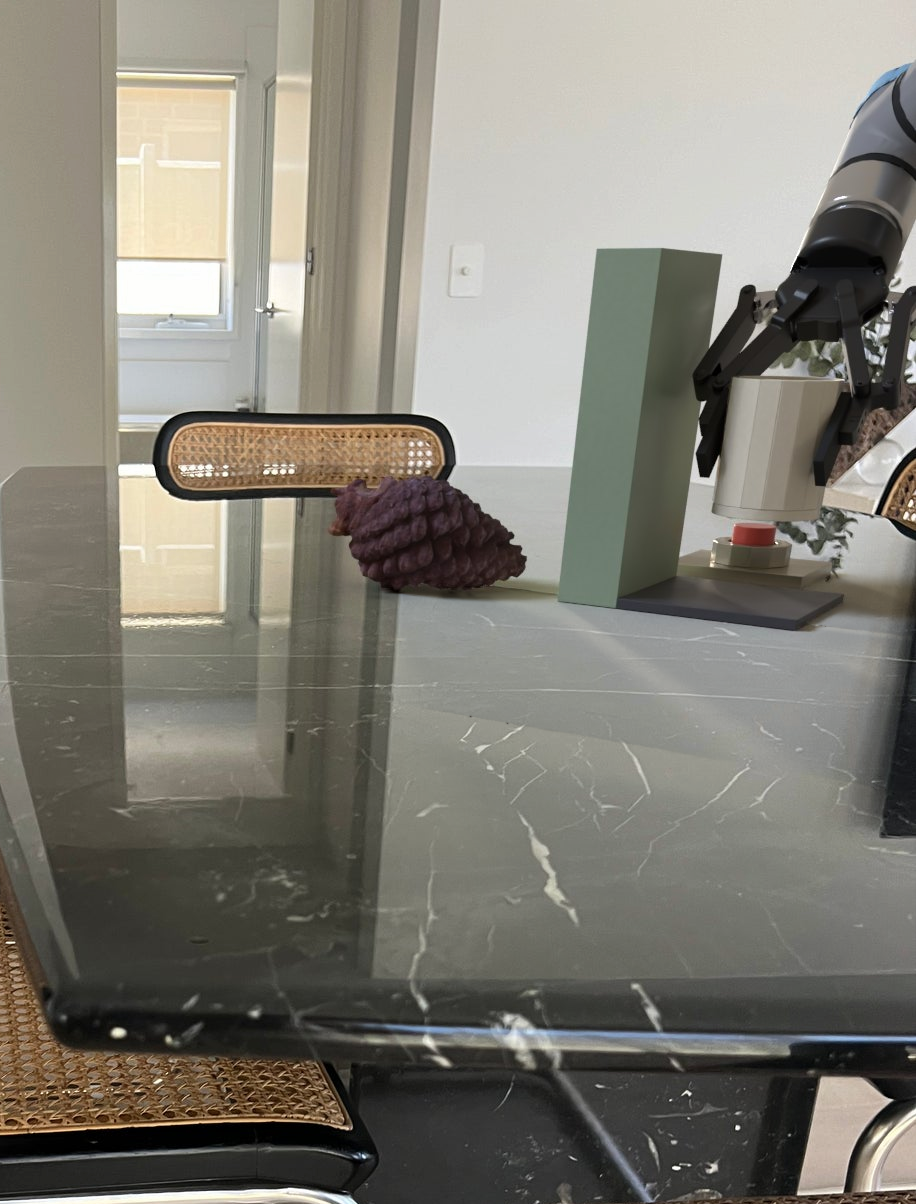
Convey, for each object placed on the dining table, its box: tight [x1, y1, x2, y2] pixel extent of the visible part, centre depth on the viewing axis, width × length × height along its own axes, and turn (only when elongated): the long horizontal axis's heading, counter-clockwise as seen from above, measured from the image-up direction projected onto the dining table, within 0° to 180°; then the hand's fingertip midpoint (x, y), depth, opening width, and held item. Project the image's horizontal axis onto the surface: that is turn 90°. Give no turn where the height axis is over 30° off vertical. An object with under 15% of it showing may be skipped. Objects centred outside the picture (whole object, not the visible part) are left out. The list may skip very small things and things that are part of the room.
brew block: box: [676, 536, 834, 590], centre depth 132 cm, size 12×10×3 cm
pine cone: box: [326, 474, 528, 591], centre depth 123 cm, size 18×10×10 cm
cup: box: [710, 375, 846, 523], centre depth 113 cm, size 8×8×10 cm
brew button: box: [731, 522, 777, 545], centre depth 131 cm, size 4×4×2 cm
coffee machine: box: [556, 247, 845, 631], centre depth 115 cm, size 19×14×26 cm
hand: (759, 469), depth 111 cm, fingers closed on cup, 8 cm apart
